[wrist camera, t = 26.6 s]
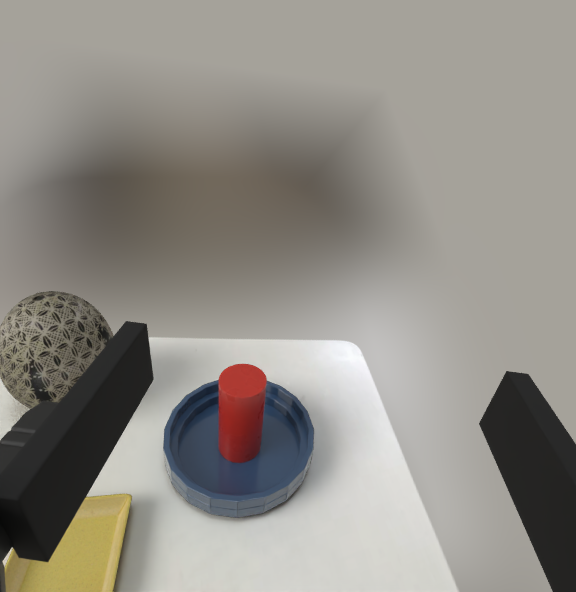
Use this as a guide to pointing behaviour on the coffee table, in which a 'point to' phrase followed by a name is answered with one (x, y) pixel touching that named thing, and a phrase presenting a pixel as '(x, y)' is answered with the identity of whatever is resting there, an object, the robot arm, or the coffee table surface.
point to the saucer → (78, 552)
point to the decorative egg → (49, 345)
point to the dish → (228, 475)
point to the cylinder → (241, 412)
